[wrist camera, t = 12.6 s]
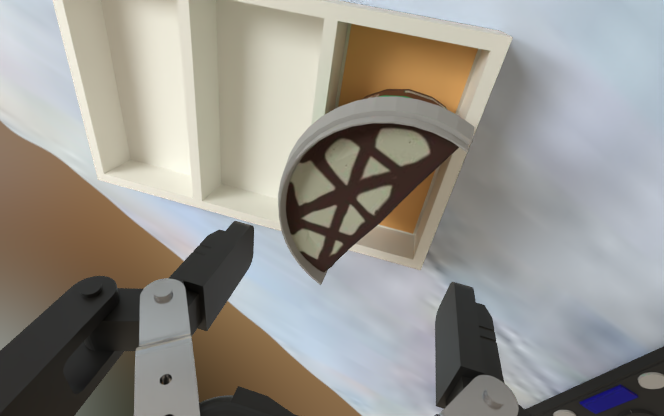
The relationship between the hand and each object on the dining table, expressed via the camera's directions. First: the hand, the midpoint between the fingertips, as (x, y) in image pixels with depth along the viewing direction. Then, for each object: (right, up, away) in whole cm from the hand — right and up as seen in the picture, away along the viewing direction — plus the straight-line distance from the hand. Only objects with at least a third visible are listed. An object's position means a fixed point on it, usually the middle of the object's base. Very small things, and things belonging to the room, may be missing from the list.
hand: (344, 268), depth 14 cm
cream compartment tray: (-5, +10, +14) cm, 18 cm away
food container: (+2, +8, +12) cm, 15 cm away
